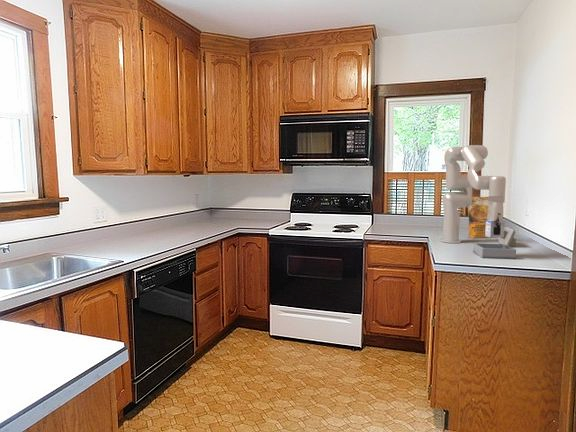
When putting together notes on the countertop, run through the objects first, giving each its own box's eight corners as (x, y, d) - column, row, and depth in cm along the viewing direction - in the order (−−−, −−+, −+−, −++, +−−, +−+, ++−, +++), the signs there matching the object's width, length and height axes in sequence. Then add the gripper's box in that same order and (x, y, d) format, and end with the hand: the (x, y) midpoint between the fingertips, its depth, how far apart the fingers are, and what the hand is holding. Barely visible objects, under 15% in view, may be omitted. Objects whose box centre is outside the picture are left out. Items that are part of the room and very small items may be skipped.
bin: (472, 252, 215) (473, 243, 215) (503, 252, 213) (504, 244, 212) (482, 258, 200) (482, 248, 199) (515, 259, 197) (516, 249, 197)
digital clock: (497, 242, 245) (498, 226, 244) (514, 243, 241) (515, 227, 240) (498, 247, 231) (499, 229, 230) (516, 248, 227) (517, 230, 226)
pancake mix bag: (462, 236, 267) (464, 196, 264) (488, 236, 270) (490, 196, 267) (468, 238, 261) (470, 197, 258) (494, 237, 263) (496, 196, 260)
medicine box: (498, 236, 208) (499, 220, 207) (504, 237, 203) (505, 221, 202) (484, 236, 207) (485, 220, 206) (490, 237, 202) (490, 221, 202)
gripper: (483, 198, 212) (481, 231, 214) (494, 200, 195) (492, 236, 197) (498, 198, 211) (496, 231, 213) (510, 200, 194) (508, 236, 196)
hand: (494, 233), depth 205 cm, fingers closed on medicine box, 5 cm apart
